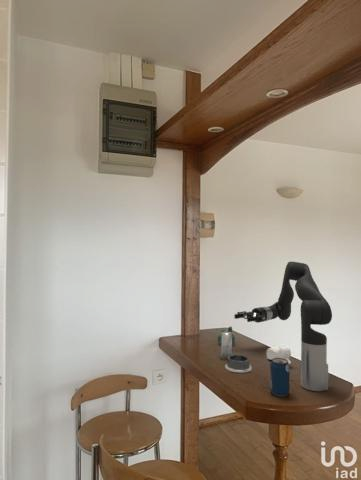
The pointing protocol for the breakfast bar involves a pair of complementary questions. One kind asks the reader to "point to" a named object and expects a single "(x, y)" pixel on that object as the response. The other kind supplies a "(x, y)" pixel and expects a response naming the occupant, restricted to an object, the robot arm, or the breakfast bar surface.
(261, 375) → the breakfast bar surface
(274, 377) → the soda can
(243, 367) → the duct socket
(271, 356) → the white crumpled piece
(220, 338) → the dark teal irregular lump
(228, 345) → the pipe
